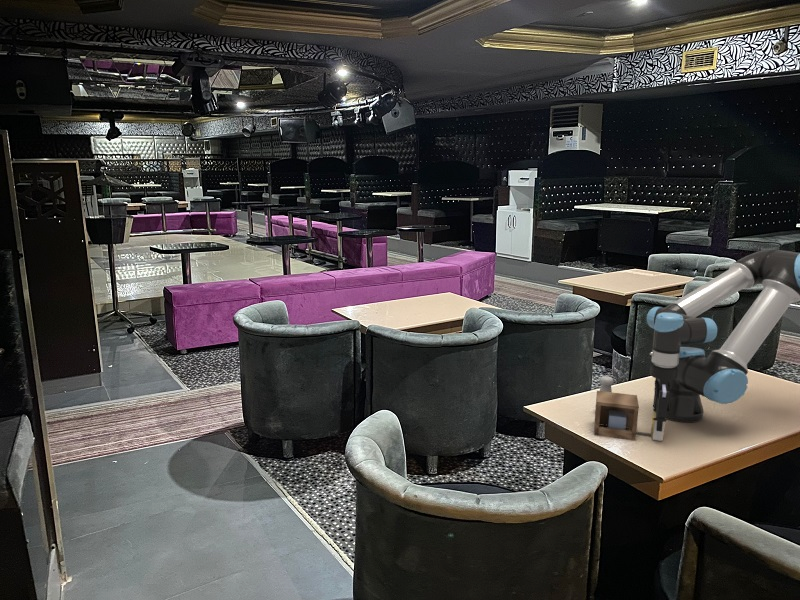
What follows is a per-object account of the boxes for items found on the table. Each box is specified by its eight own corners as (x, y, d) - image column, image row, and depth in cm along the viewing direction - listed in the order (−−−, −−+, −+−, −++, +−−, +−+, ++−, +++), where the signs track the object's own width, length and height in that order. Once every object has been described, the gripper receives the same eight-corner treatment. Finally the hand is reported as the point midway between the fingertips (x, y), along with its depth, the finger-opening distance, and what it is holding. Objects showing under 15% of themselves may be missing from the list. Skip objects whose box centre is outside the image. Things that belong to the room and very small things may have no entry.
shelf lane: (633, 427, 190) (636, 395, 187) (635, 440, 180) (638, 406, 178) (594, 422, 193) (597, 390, 191) (594, 435, 184) (597, 401, 182)
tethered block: (662, 434, 185) (664, 413, 183) (664, 441, 180) (666, 419, 179) (607, 427, 190) (609, 406, 188) (607, 433, 185) (609, 412, 184)
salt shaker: (592, 410, 203) (595, 374, 201) (608, 409, 204) (611, 374, 201) (599, 417, 198) (602, 380, 195) (615, 416, 198) (619, 379, 196)
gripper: (648, 354, 188) (641, 423, 192) (653, 371, 171) (645, 446, 176) (674, 357, 185) (666, 426, 190) (682, 374, 169) (673, 450, 174)
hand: (656, 436), depth 183 cm, fingers open, 5 cm apart
